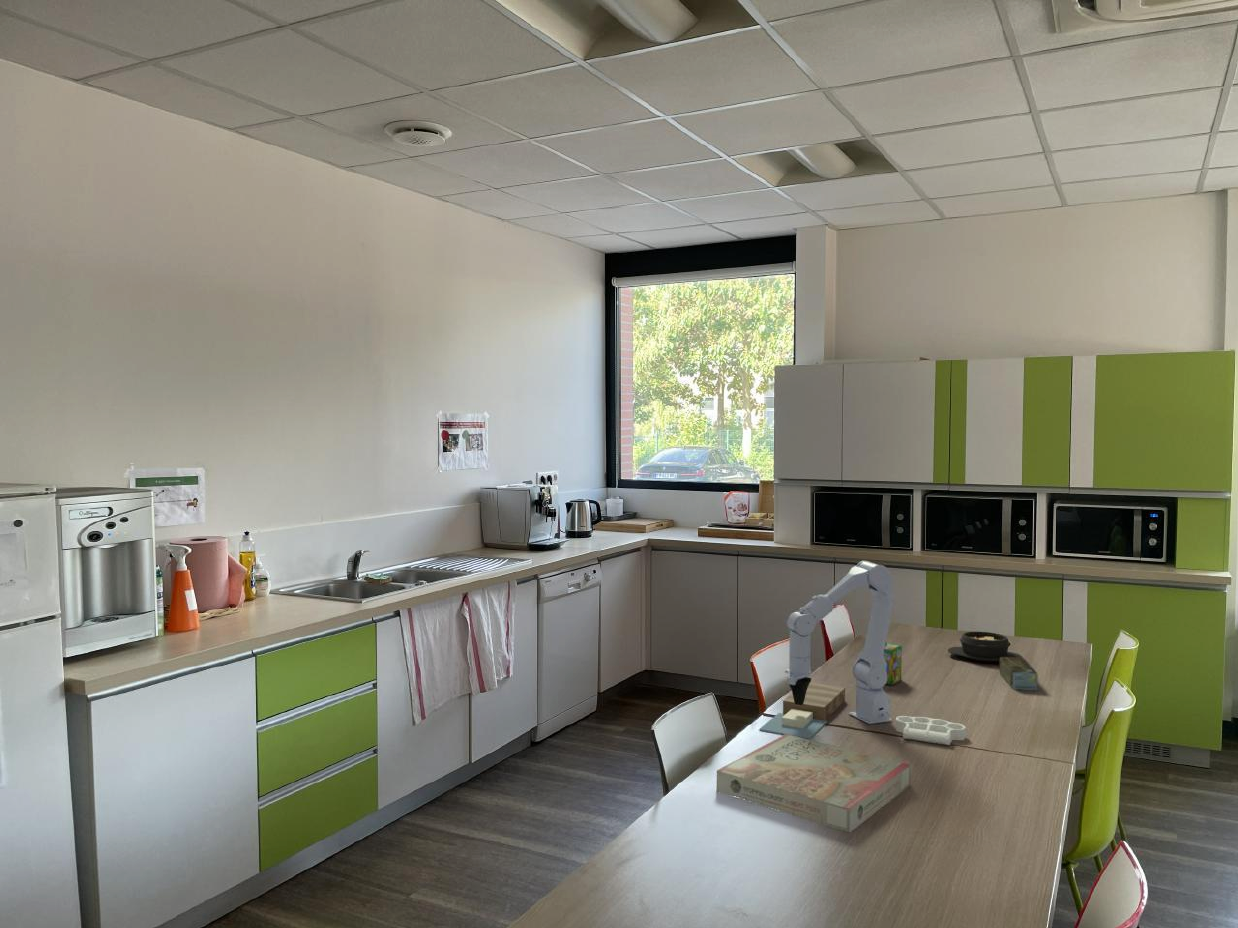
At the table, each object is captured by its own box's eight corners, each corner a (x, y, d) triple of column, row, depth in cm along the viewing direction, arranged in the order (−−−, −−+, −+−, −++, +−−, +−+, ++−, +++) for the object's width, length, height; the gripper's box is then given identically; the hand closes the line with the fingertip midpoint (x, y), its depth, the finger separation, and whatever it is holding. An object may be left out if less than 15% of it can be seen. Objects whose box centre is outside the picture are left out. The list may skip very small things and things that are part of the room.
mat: (778, 714, 259) (778, 712, 259) (826, 722, 252) (826, 720, 252) (759, 730, 245) (759, 728, 245) (809, 739, 238) (809, 737, 238)
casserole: (943, 660, 321) (944, 637, 321) (951, 649, 338) (951, 627, 337) (1020, 669, 310) (1021, 645, 309) (1024, 657, 326) (1024, 634, 326)
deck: (806, 694, 278) (806, 681, 278) (845, 700, 272) (845, 687, 272) (782, 714, 259) (783, 700, 258) (824, 721, 253) (824, 707, 253)
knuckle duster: (890, 739, 239) (898, 723, 253) (962, 750, 232) (967, 733, 245) (890, 727, 239) (898, 711, 253) (963, 737, 232) (967, 721, 245)
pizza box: (850, 809, 183) (716, 770, 203) (849, 834, 183) (716, 793, 203) (910, 764, 208) (786, 733, 228) (909, 787, 208) (785, 754, 228)
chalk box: (892, 686, 288) (893, 640, 288) (864, 681, 294) (865, 635, 293) (902, 679, 296) (903, 635, 295) (875, 675, 301) (876, 631, 301)
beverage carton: (1011, 690, 286) (1011, 669, 285) (998, 674, 304) (998, 654, 304) (1038, 691, 284) (1038, 670, 284) (1023, 675, 303) (1024, 656, 303)
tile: (791, 715, 256) (792, 708, 256) (812, 719, 253) (812, 712, 253) (781, 724, 248) (781, 717, 248) (802, 728, 245) (802, 720, 245)
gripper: (794, 648, 260) (793, 695, 260) (777, 659, 247) (776, 708, 248) (818, 651, 256) (817, 698, 257) (802, 662, 244) (801, 712, 244)
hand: (799, 703), depth 252 cm, fingers closed
